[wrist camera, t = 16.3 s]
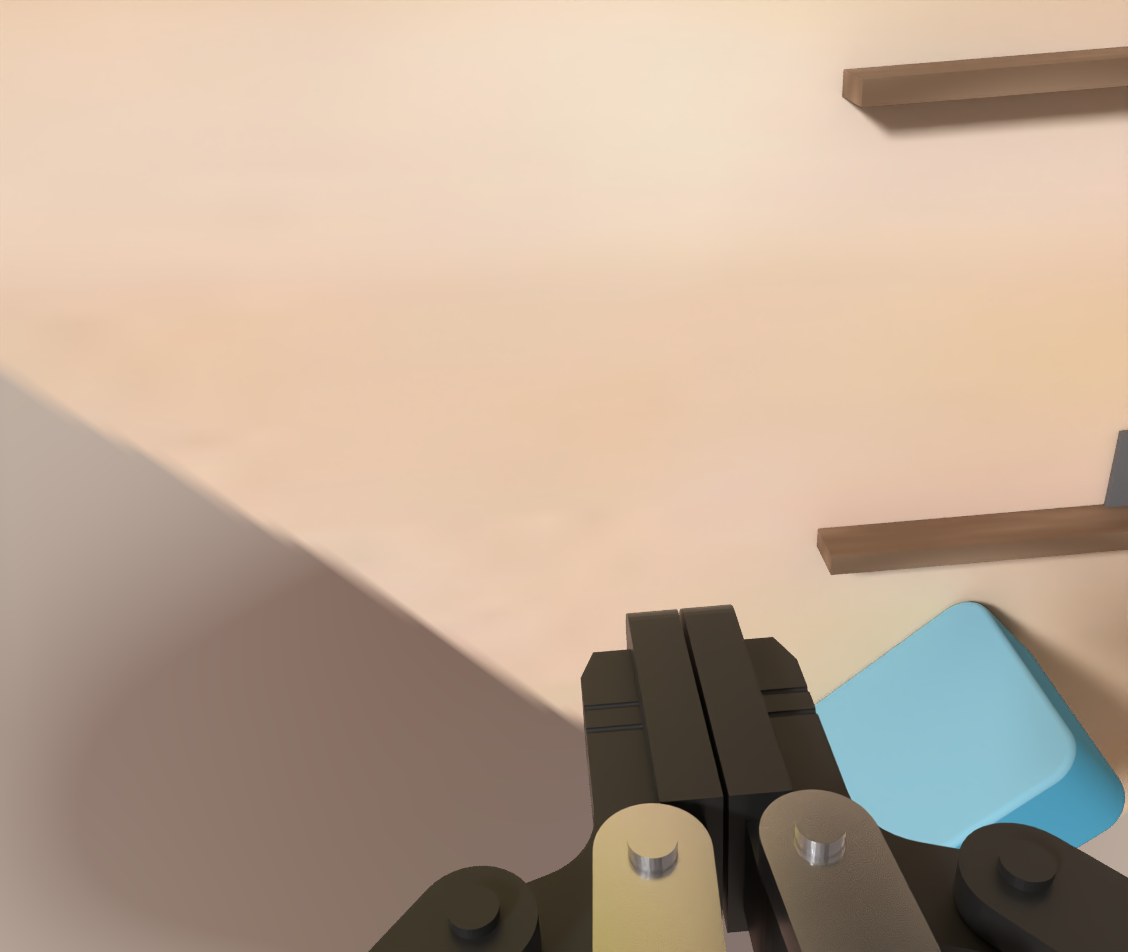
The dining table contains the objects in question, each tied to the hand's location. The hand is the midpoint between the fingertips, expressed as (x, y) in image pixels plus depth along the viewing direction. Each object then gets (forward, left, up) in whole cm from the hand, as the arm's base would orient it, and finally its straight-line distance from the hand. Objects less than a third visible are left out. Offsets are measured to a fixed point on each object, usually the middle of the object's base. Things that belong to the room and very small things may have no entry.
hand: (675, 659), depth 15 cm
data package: (+28, +16, -31) cm, 45 cm away
